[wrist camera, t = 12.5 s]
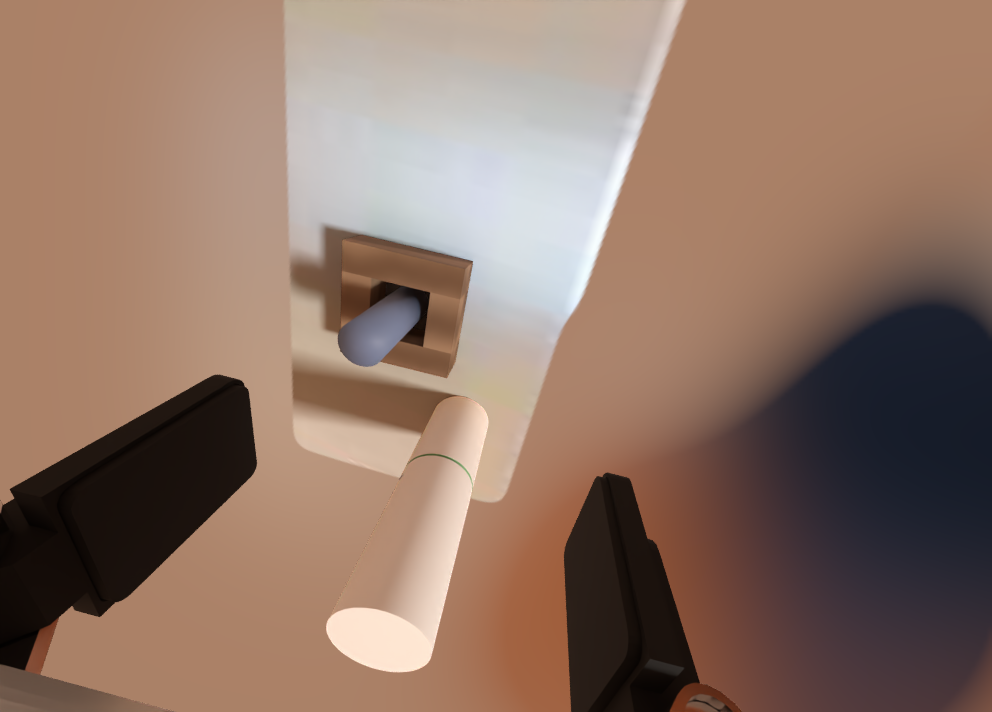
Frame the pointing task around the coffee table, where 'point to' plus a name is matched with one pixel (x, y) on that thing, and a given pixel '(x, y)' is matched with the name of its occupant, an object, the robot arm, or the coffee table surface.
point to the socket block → (414, 268)
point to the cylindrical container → (413, 547)
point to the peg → (382, 326)
